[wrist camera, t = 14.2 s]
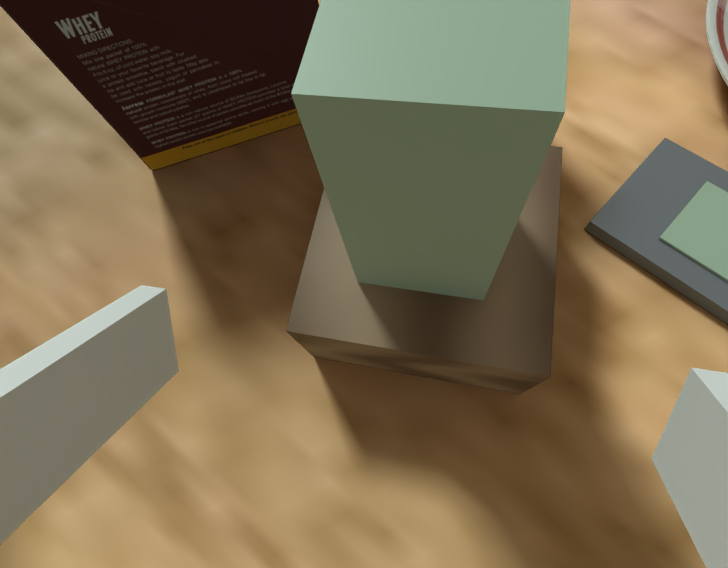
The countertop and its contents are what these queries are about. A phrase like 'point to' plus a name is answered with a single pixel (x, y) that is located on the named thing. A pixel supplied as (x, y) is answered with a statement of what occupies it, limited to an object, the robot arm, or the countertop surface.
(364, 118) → the sage block
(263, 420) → the countertop surface
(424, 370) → the walnut block
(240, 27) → the supplement box
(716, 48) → the dinner plate
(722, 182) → the tile
